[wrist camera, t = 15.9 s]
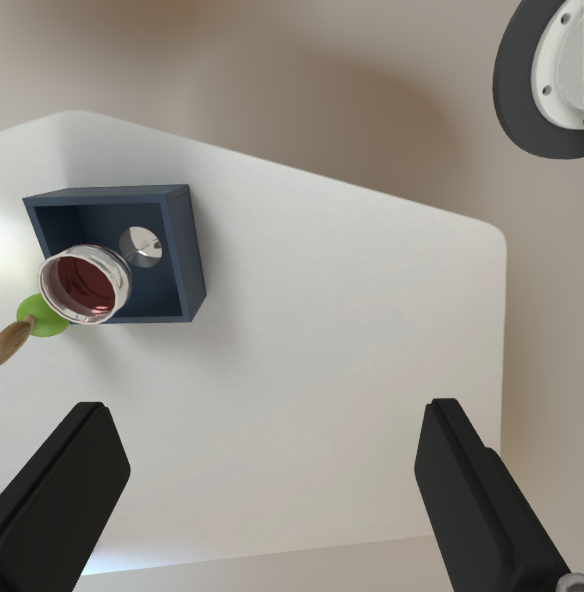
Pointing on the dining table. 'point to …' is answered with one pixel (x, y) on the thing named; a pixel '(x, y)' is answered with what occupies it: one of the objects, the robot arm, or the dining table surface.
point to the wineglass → (96, 276)
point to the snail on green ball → (30, 325)
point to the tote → (106, 232)
